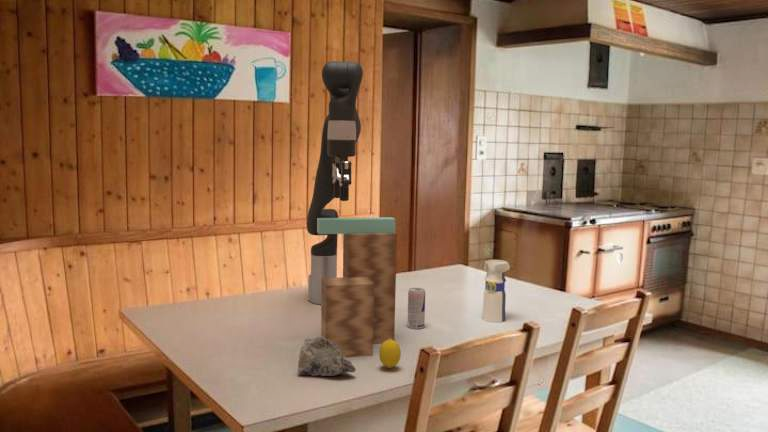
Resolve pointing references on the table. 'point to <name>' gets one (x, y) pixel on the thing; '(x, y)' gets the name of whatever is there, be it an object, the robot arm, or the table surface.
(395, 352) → the lemon
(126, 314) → the table surface
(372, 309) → the low stand
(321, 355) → the mineral rock
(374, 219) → the teal bar
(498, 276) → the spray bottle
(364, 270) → the tall stand
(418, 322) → the energy drink
